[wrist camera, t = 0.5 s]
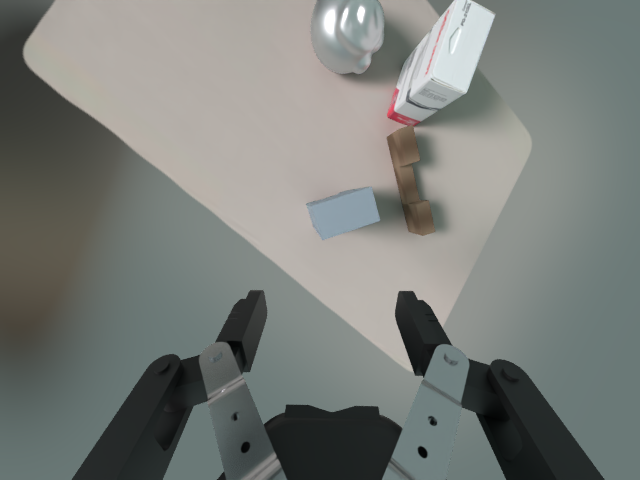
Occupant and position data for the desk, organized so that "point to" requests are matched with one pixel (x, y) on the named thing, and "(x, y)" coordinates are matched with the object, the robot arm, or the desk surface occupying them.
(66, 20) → the desk surface
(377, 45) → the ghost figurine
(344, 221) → the notched block
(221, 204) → the desk surface
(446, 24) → the ink box
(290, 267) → the desk surface
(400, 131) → the notched rail
